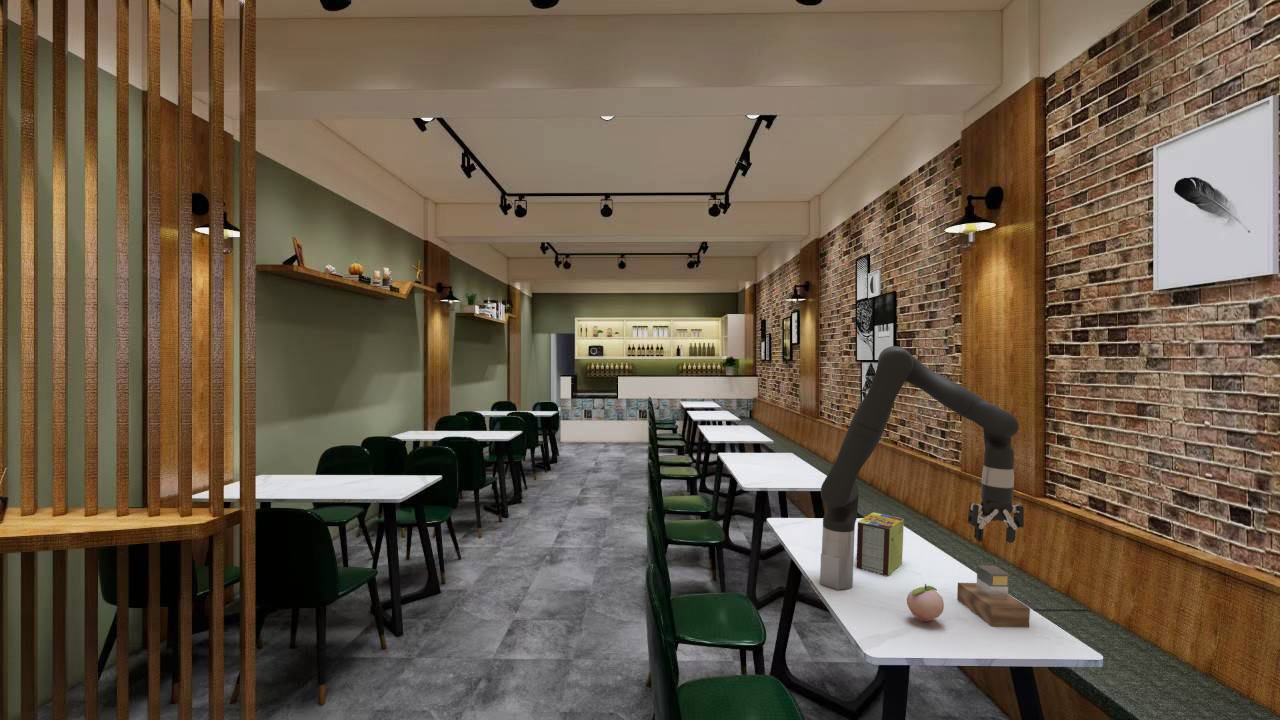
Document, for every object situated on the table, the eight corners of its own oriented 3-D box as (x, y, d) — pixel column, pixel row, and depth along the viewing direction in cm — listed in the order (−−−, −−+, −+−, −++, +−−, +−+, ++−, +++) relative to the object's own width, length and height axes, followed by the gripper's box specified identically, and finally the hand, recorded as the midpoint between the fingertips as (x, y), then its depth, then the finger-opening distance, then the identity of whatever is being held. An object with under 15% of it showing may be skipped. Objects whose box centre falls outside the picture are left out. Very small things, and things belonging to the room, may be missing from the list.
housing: (993, 590, 165) (994, 565, 164) (1008, 600, 158) (1009, 574, 158) (976, 589, 164) (977, 565, 164) (990, 599, 158) (991, 574, 158)
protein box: (902, 563, 197) (904, 518, 197) (888, 576, 185) (890, 528, 185) (870, 555, 204) (872, 511, 203) (855, 568, 192) (856, 521, 192)
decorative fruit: (931, 633, 149) (933, 594, 149) (901, 620, 156) (902, 583, 155) (949, 623, 155) (951, 586, 154) (919, 611, 161) (921, 575, 161)
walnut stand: (1029, 626, 154) (1029, 608, 154) (991, 626, 153) (992, 607, 153) (991, 600, 170) (991, 583, 170) (957, 599, 169) (957, 582, 169)
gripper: (980, 486, 157) (977, 545, 157) (1032, 487, 157) (1029, 547, 158) (964, 479, 164) (961, 536, 165) (1013, 480, 165) (1010, 537, 165)
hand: (994, 541), depth 161 cm, fingers open, 8 cm apart
